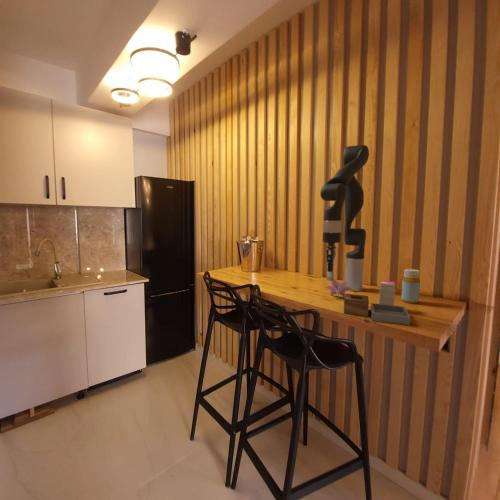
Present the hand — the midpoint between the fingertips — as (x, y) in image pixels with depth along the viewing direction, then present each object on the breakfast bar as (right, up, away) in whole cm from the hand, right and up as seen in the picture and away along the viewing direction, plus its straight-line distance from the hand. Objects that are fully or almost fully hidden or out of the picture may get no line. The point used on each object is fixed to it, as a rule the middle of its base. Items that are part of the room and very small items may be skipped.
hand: (330, 270), depth 120 cm
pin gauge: (0, -4, +1) cm, 4 cm away
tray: (+19, -17, -13) cm, 29 cm away
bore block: (+9, -16, -6) cm, 20 cm away
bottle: (+39, -15, +8) cm, 43 cm away
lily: (+8, -15, +14) cm, 21 cm away
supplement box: (+24, -16, -2) cm, 29 cm away
